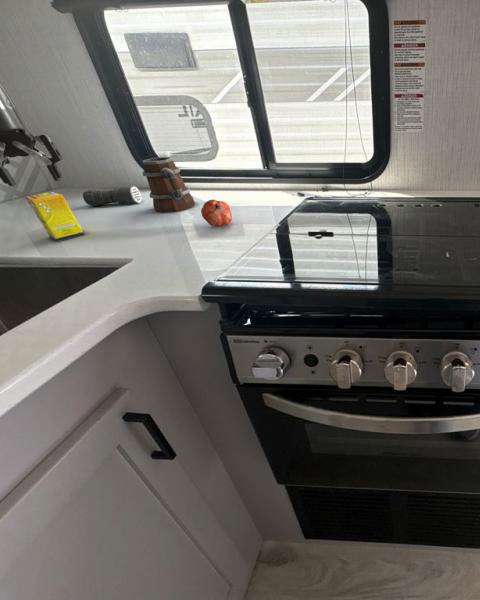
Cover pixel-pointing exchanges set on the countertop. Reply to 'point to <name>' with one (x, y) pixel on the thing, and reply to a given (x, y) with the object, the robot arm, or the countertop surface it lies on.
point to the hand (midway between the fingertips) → (35, 182)
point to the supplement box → (55, 215)
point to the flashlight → (112, 196)
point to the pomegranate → (216, 213)
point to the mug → (166, 185)
